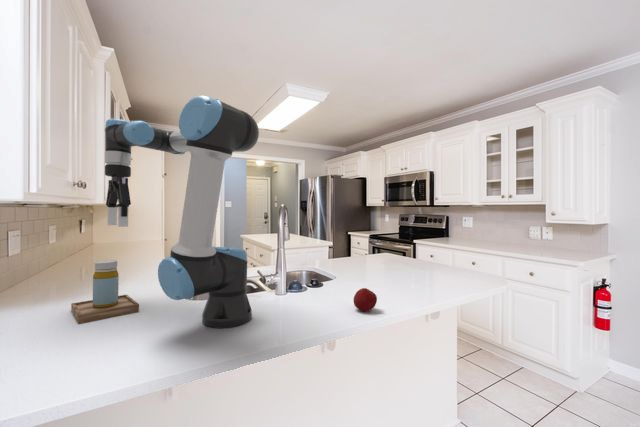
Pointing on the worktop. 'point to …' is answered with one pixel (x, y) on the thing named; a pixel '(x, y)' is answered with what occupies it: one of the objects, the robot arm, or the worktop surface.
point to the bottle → (105, 284)
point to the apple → (365, 300)
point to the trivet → (103, 309)
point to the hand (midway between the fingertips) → (117, 226)
